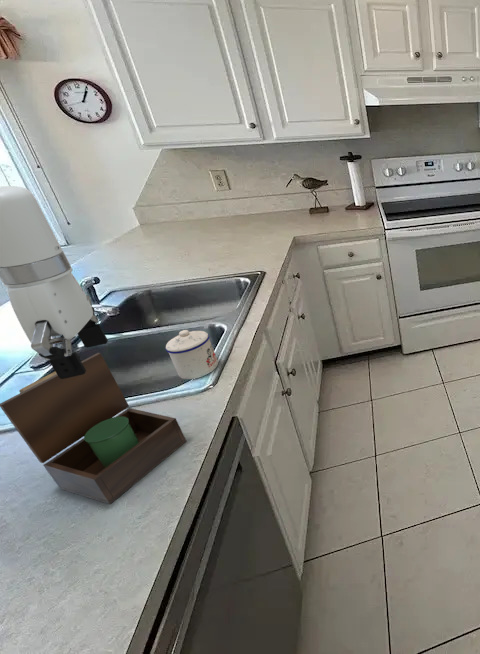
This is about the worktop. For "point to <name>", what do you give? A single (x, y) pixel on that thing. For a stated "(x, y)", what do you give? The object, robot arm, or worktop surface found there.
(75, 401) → the lid
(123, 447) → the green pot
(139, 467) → the chest
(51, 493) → the worktop surface
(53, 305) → the robot arm
